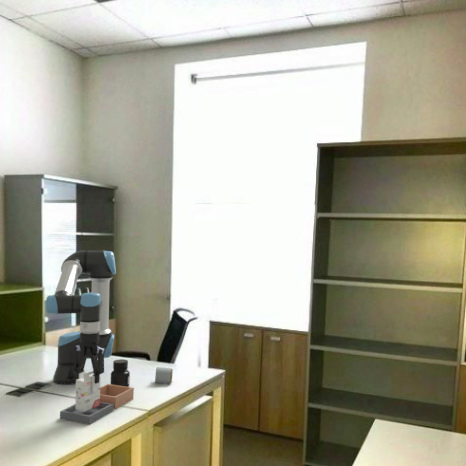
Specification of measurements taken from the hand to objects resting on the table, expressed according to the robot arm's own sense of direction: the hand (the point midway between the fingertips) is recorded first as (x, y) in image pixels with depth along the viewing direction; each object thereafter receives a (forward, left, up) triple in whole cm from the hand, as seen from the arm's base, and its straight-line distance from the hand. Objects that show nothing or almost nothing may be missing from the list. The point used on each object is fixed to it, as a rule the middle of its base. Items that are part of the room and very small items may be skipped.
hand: (88, 390), depth 179 cm
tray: (0, 0, -10) cm, 10 cm away
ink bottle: (-9, +36, -10) cm, 38 cm away
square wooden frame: (0, +16, -10) cm, 19 cm away
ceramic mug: (+7, +50, -10) cm, 52 cm away
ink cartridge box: (0, 0, -7) cm, 7 cm away
